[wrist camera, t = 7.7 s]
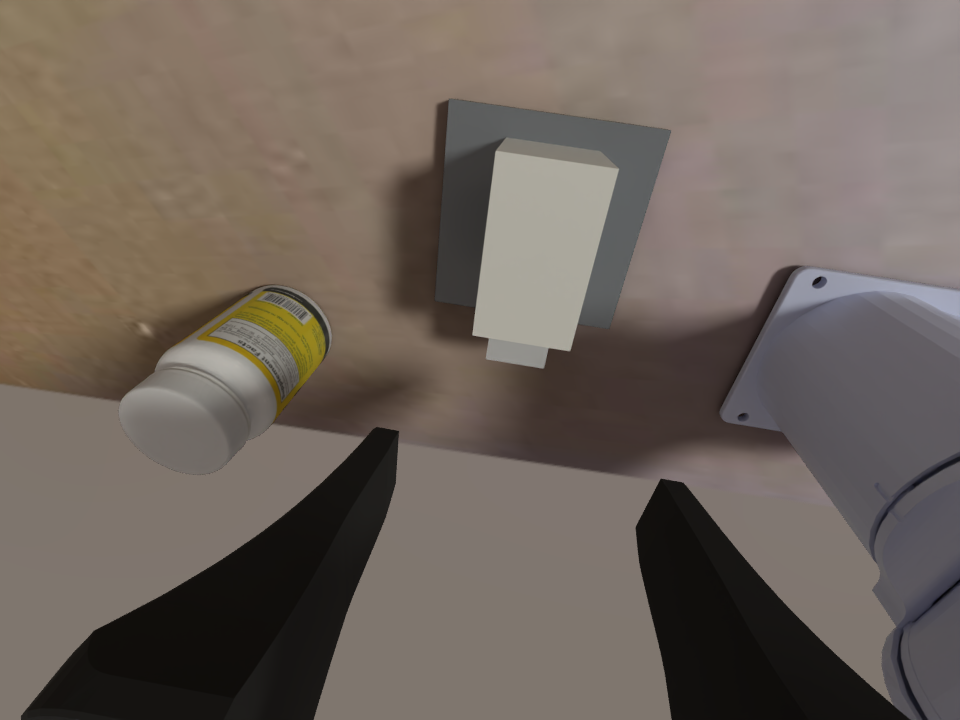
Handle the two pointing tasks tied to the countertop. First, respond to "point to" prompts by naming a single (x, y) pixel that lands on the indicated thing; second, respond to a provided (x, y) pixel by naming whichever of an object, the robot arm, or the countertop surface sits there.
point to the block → (539, 247)
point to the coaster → (469, 188)
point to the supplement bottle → (226, 380)
